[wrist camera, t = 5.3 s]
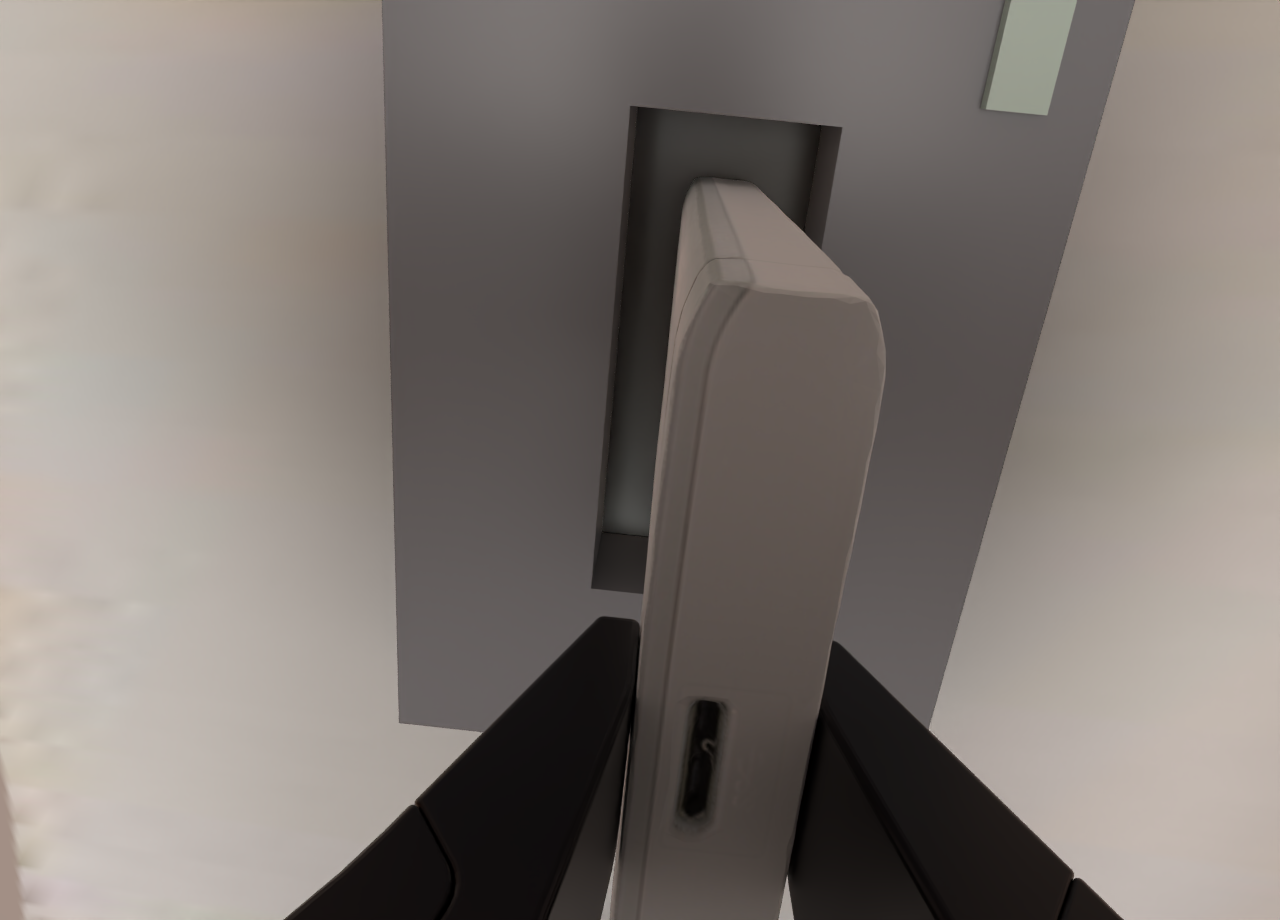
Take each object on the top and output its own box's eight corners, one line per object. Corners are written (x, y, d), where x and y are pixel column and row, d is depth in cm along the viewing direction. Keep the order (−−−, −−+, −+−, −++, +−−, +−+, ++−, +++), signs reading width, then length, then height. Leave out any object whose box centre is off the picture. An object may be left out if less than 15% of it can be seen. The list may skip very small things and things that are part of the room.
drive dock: (891, 708, 23) (917, 788, 20) (428, 658, 23) (395, 731, 20) (1105, -114, 16) (1185, -149, 13) (422, -181, 16) (369, -227, 13)
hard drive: (648, 545, 21) (582, 1092, 9) (685, 173, 18) (659, 270, 6) (720, 553, 20) (746, 1112, 9) (769, 181, 18) (905, 295, 6)
